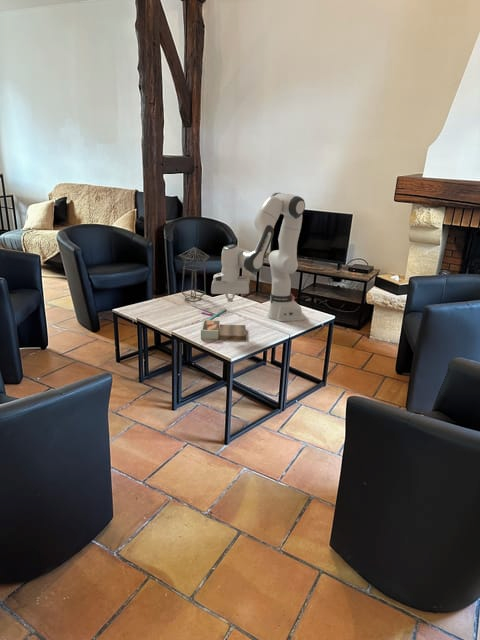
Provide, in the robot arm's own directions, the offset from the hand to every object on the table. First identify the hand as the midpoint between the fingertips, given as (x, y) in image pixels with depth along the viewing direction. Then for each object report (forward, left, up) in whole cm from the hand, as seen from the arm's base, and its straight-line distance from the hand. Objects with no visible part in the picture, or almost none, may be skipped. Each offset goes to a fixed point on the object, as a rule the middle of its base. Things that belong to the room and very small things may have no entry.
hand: (230, 301), depth 236 cm
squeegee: (+13, -24, -18) cm, 33 cm away
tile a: (+8, +9, -15) cm, 19 cm away
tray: (+10, +6, -17) cm, 20 cm away
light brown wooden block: (+8, +3, -14) cm, 16 cm away
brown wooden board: (-2, +6, -17) cm, 18 cm away
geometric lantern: (+24, -55, -17) cm, 63 cm away
